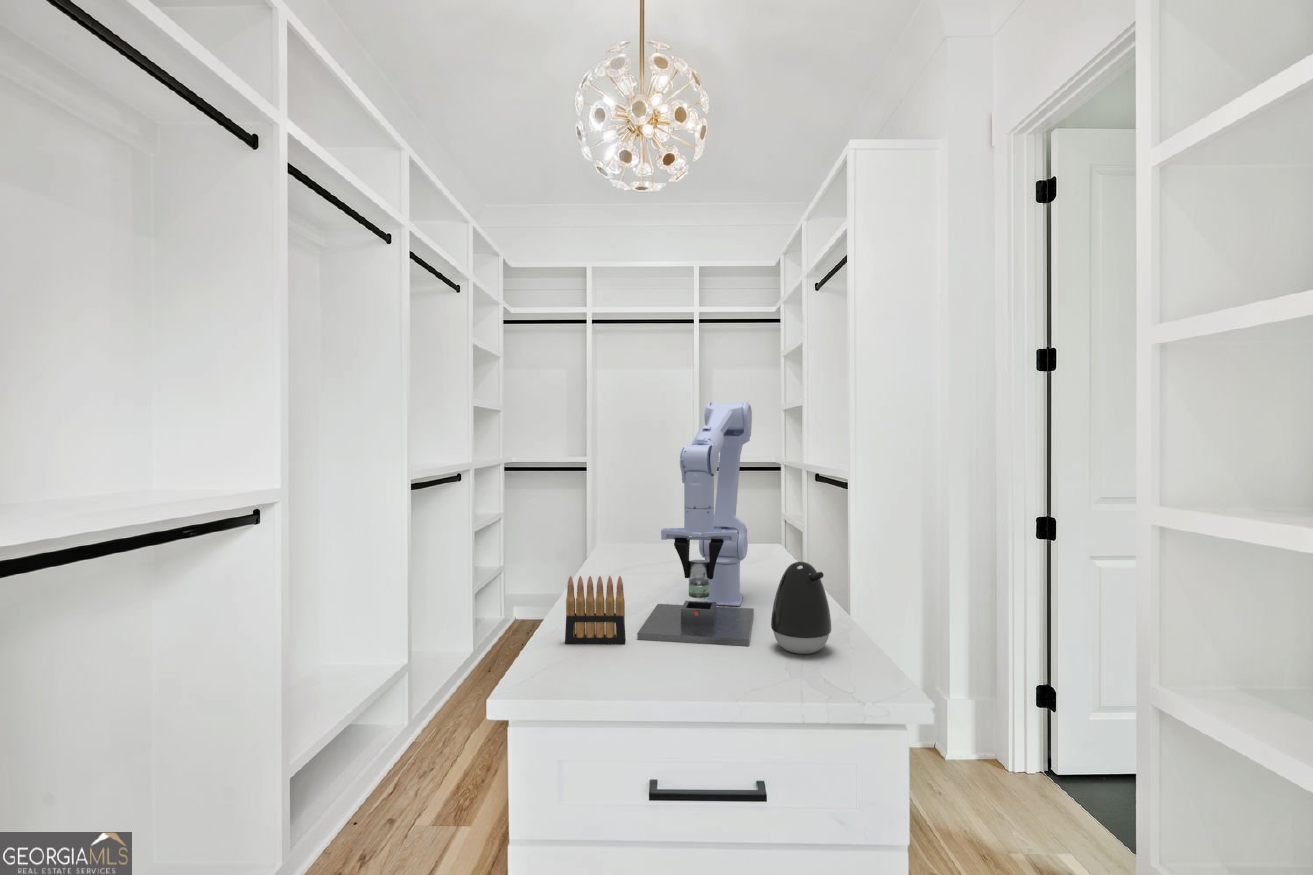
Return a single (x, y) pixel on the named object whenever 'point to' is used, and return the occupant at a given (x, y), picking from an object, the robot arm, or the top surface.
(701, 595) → the grey cylindrical jar
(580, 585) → the ammunition clip
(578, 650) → the top surface
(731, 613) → the post base
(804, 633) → the pump dispenser
